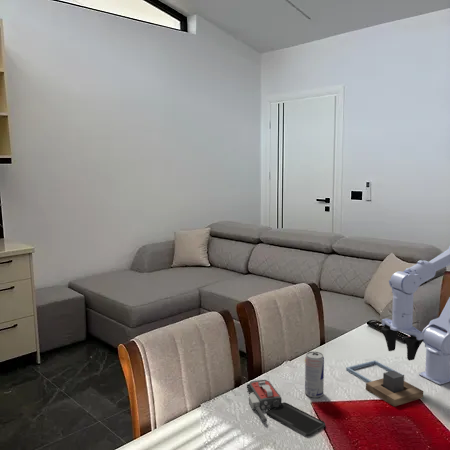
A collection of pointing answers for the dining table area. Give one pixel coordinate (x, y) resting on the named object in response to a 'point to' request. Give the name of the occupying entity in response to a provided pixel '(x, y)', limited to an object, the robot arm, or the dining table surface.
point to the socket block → (392, 398)
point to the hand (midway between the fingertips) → (401, 354)
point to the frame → (351, 368)
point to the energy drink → (314, 374)
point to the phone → (296, 419)
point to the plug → (393, 381)
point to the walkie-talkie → (263, 396)
